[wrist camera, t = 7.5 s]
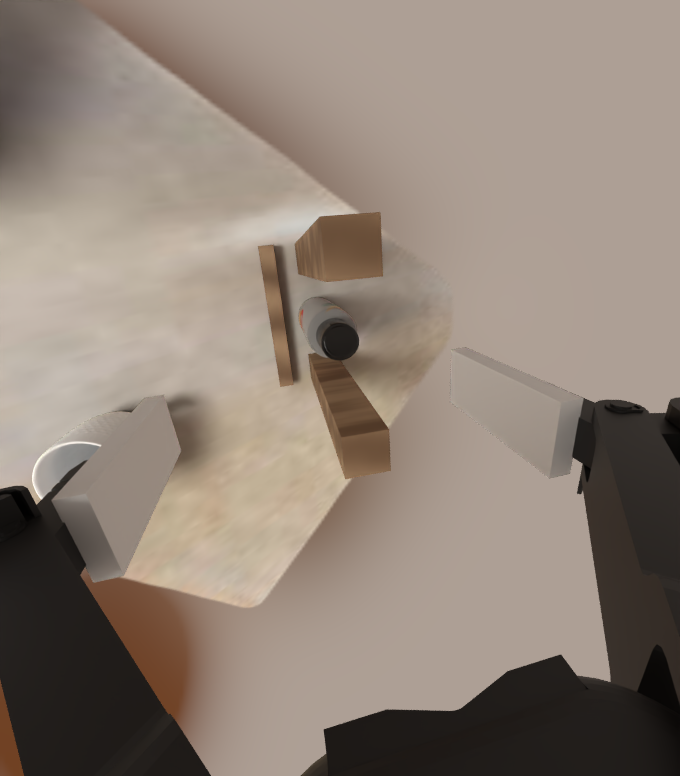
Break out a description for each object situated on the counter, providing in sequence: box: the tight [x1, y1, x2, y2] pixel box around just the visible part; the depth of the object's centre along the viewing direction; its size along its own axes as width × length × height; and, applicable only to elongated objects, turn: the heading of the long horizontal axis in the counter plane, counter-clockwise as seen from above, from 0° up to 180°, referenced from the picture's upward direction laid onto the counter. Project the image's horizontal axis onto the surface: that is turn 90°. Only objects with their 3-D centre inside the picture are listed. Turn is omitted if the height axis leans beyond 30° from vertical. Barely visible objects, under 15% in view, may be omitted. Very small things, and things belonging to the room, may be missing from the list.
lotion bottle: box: [299, 297, 359, 361], centre depth 42 cm, size 6×6×20 cm
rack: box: [258, 212, 391, 479], centre depth 38 cm, size 20×9×28 cm, turn 5°
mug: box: [32, 411, 130, 500], centre depth 46 cm, size 15×11×13 cm
